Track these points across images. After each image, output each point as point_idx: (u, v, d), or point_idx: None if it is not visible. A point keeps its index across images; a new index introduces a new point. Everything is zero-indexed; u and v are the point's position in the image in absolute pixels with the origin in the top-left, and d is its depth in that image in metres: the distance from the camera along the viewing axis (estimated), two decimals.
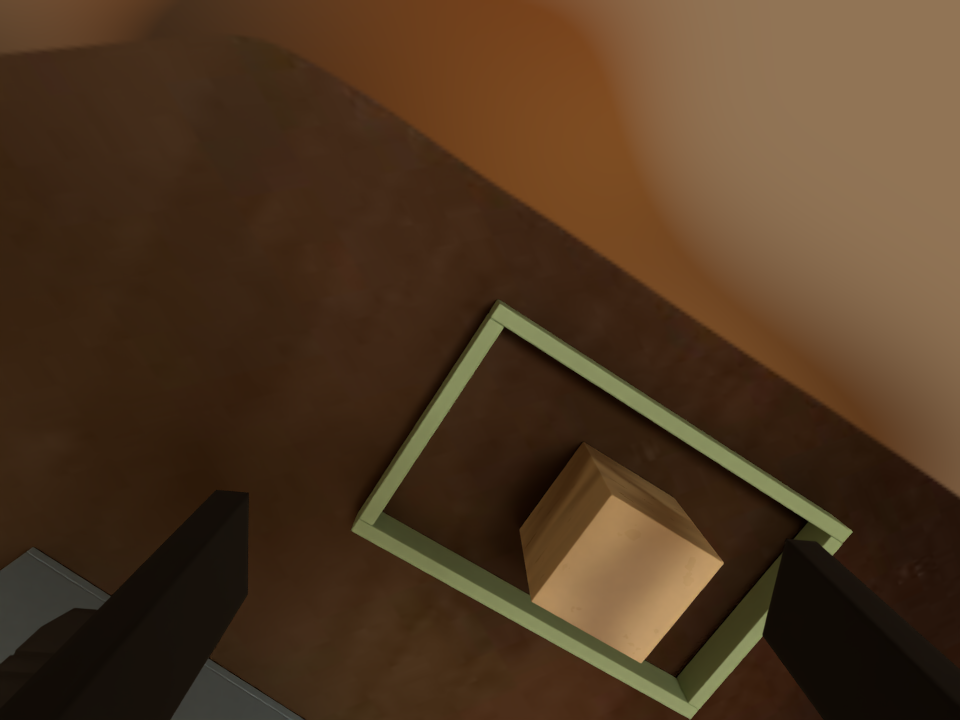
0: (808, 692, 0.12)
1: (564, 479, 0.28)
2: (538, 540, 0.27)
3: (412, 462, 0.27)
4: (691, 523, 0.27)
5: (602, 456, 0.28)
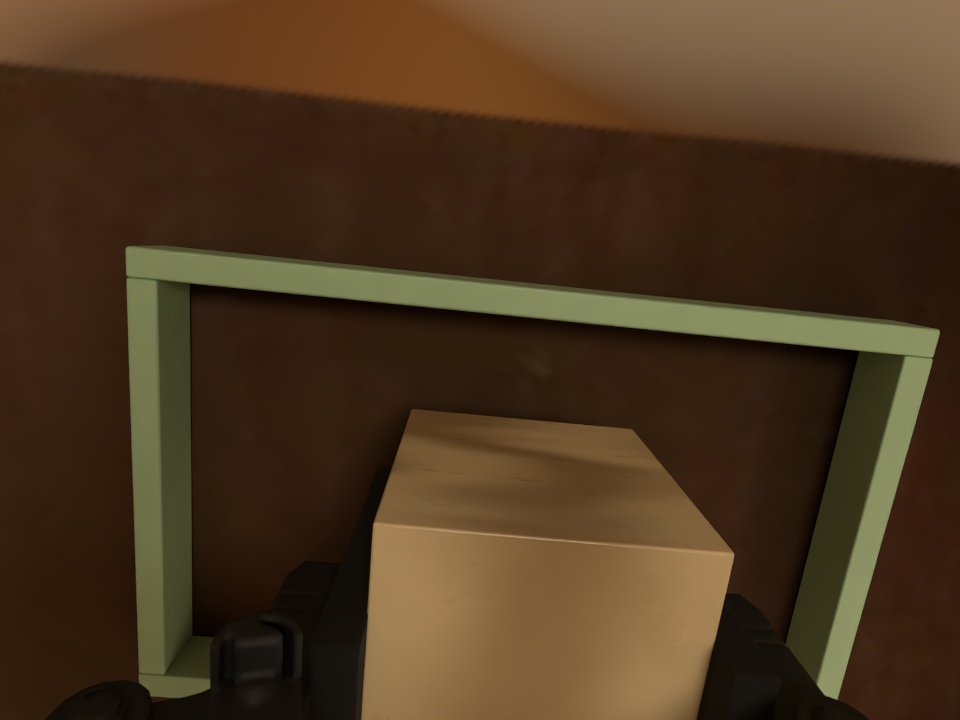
0: None
1: None
2: None
3: (158, 557, 0.16)
4: (658, 474, 0.12)
5: (450, 420, 0.14)
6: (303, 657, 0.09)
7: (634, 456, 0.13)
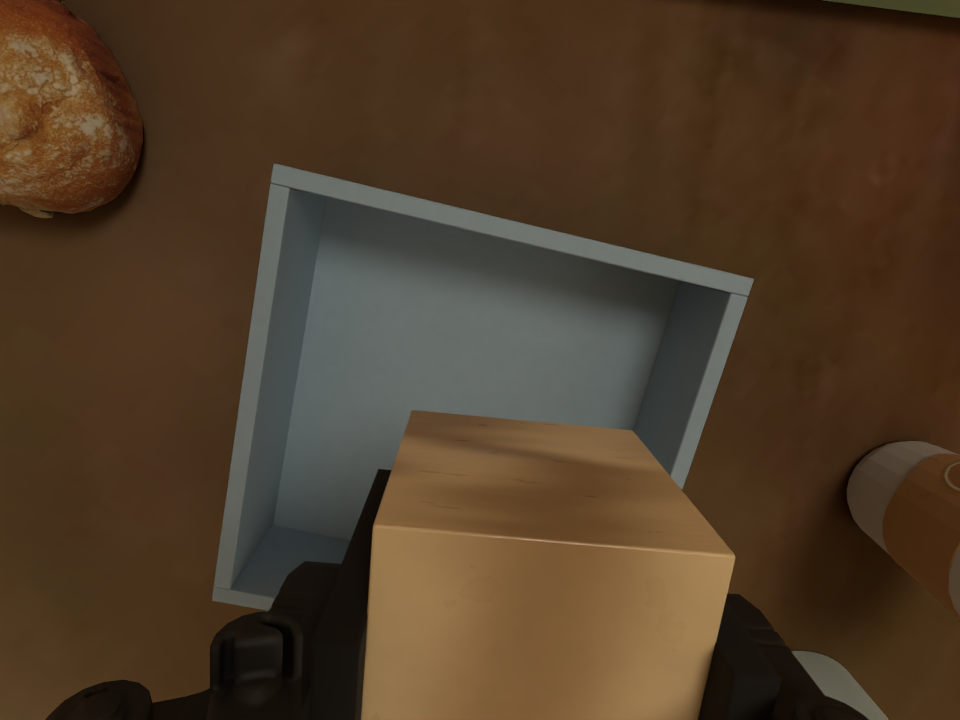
0: None
1: None
2: None
3: None
4: (658, 475, 0.12)
5: (450, 421, 0.14)
6: (303, 658, 0.09)
7: (634, 457, 0.13)
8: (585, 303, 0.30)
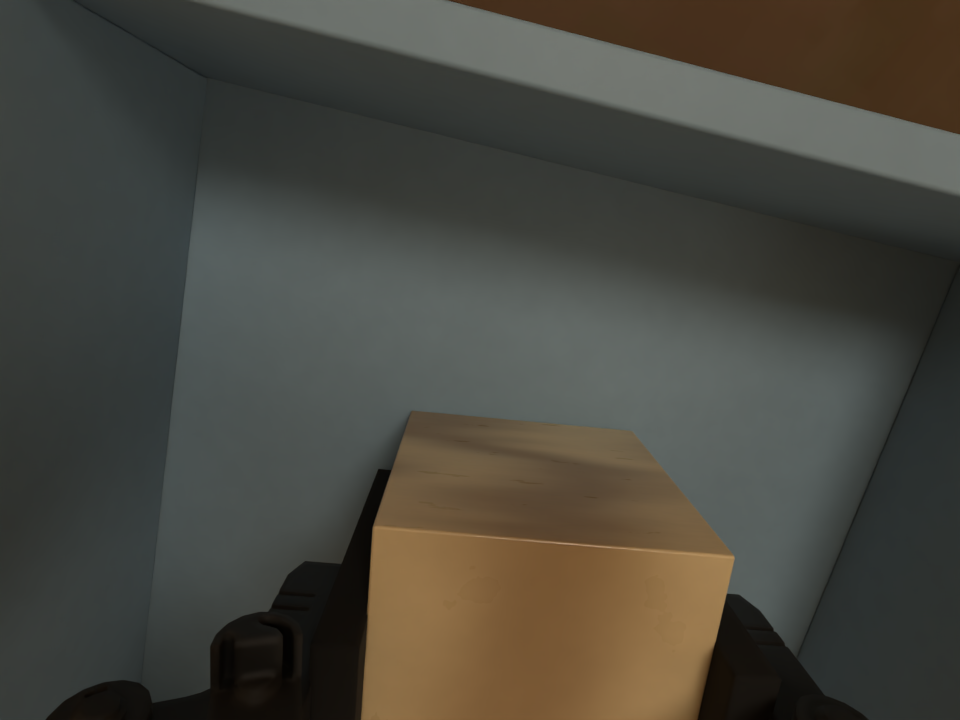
0: None
1: None
2: None
3: None
4: (658, 476, 0.12)
5: (450, 421, 0.14)
6: (303, 657, 0.09)
7: (634, 458, 0.13)
8: (758, 311, 0.14)
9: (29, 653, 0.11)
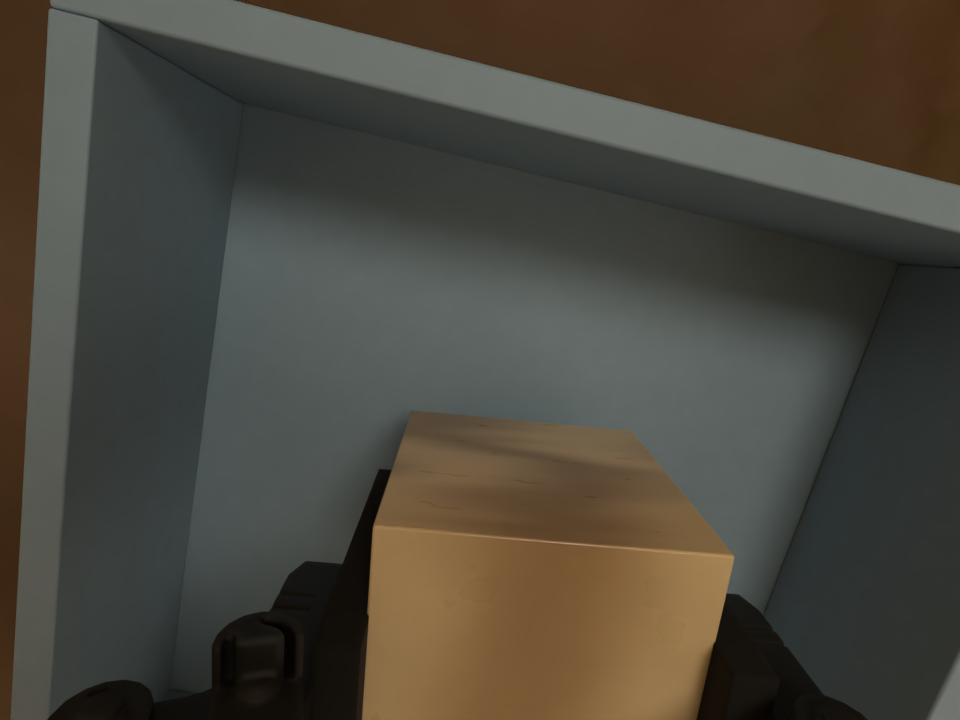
0: None
1: None
2: None
3: None
4: (658, 475, 0.12)
5: (450, 421, 0.14)
6: (304, 657, 0.09)
7: (634, 458, 0.13)
8: (722, 306, 0.16)
9: (96, 593, 0.13)
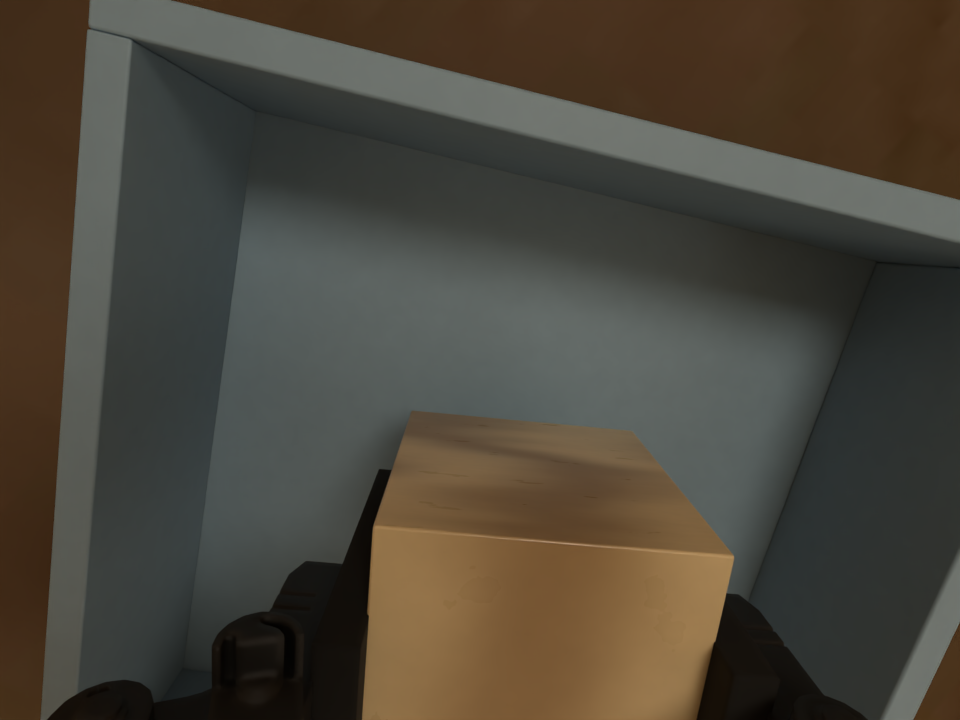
0: None
1: None
2: None
3: None
4: (658, 475, 0.12)
5: (450, 421, 0.14)
6: (304, 657, 0.09)
7: (634, 458, 0.13)
8: (709, 302, 0.17)
9: (121, 570, 0.14)
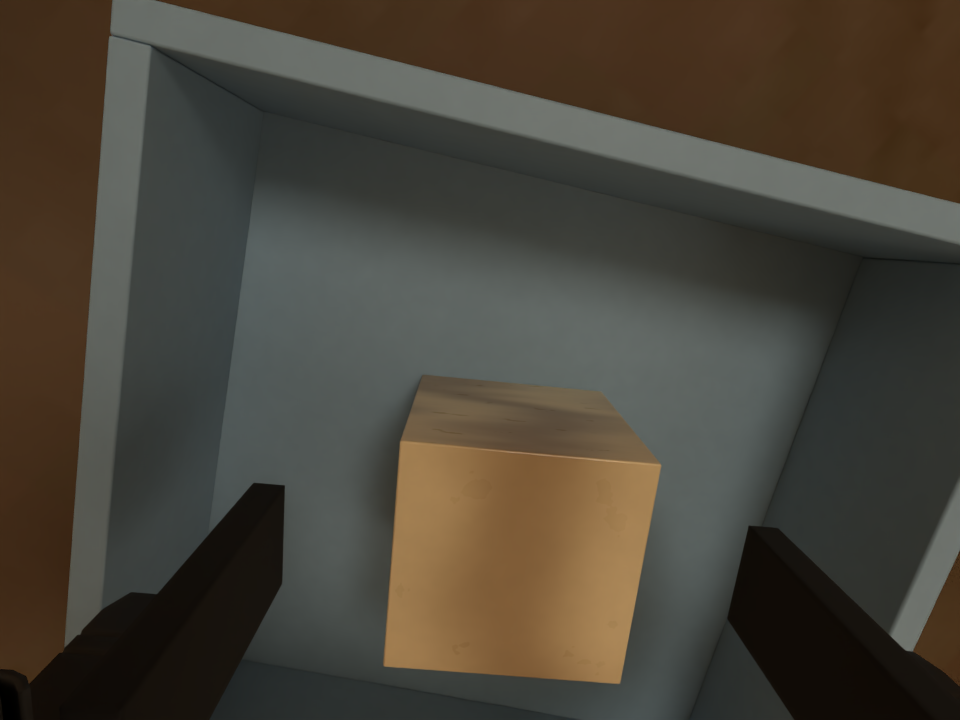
0: (766, 671, 0.13)
1: None
2: None
3: None
4: (615, 419, 0.16)
5: (454, 382, 0.18)
6: None
7: (599, 408, 0.16)
8: (701, 296, 0.18)
9: (136, 551, 0.14)
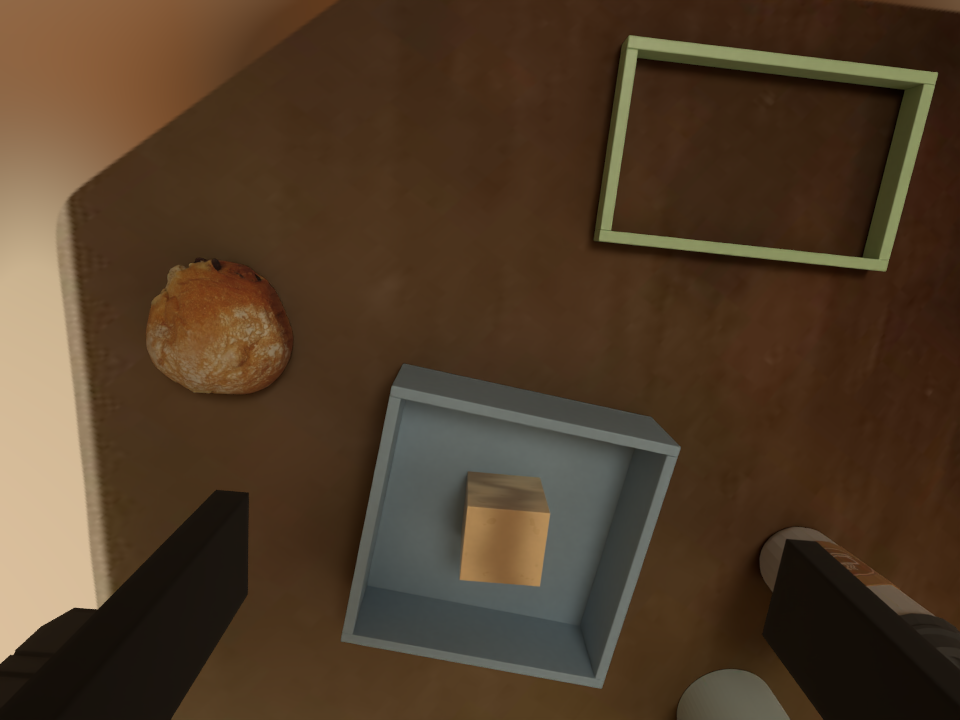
0: (808, 692, 0.12)
1: (465, 498, 0.45)
2: (461, 541, 0.44)
3: (618, 173, 0.39)
4: (541, 493, 0.43)
5: (480, 475, 0.45)
6: None
7: (536, 487, 0.44)
8: (578, 441, 0.45)
9: (372, 541, 0.42)
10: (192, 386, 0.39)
